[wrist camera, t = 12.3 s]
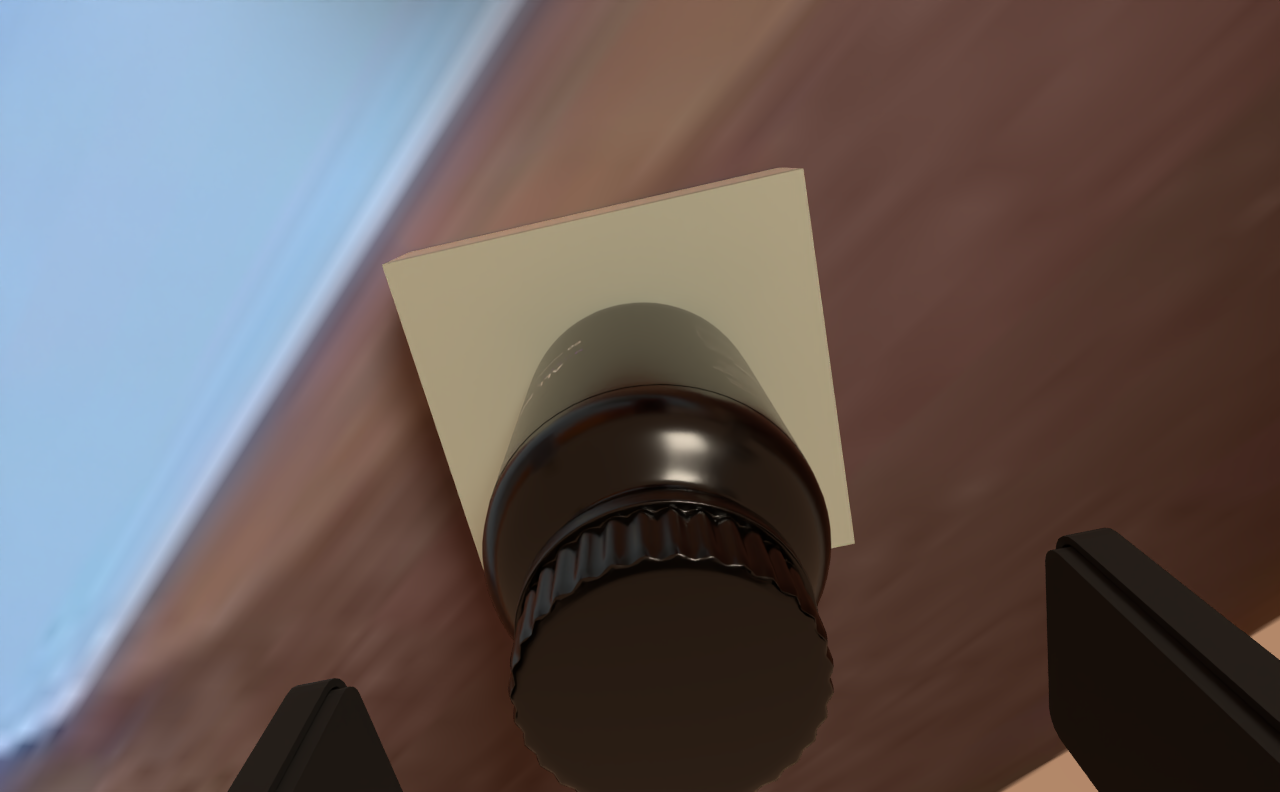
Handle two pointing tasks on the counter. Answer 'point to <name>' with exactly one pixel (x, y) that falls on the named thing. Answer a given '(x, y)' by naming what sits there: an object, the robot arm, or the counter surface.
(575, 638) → the supplement bottle
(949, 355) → the counter surface
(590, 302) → the plate
